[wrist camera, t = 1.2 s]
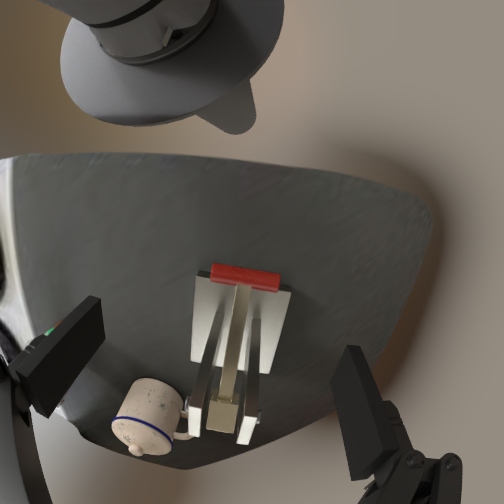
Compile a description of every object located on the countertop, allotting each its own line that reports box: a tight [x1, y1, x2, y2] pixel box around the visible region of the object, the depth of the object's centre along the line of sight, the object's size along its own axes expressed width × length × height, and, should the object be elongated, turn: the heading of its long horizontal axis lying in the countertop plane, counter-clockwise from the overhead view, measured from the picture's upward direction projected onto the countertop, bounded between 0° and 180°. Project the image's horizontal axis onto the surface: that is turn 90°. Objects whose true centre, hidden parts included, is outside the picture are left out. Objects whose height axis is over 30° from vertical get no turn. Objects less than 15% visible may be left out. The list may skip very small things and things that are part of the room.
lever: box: [206, 263, 280, 433], centre depth 20 cm, size 13×5×2 cm, turn 171°
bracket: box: [185, 271, 292, 445], centre depth 25 cm, size 12×10×15 cm
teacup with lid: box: [112, 378, 194, 456], centre depth 32 cm, size 12×9×12 cm
